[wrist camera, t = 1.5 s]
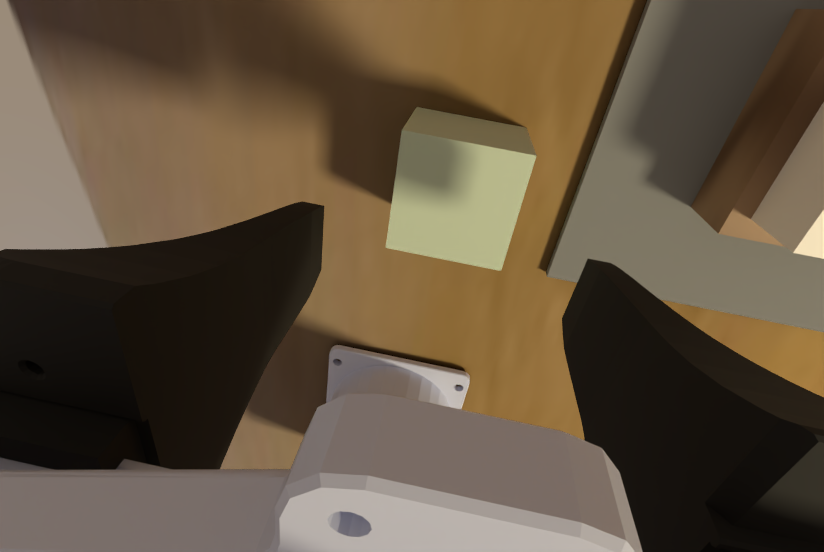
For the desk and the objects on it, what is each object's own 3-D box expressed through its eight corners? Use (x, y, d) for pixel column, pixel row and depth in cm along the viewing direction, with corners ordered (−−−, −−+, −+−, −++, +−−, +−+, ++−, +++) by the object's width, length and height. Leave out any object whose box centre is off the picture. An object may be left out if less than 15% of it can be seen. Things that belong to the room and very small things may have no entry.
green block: (498, 226, 20) (501, 271, 17) (401, 207, 20) (385, 247, 17) (526, 127, 18) (536, 155, 14) (416, 106, 18) (402, 129, 15)
